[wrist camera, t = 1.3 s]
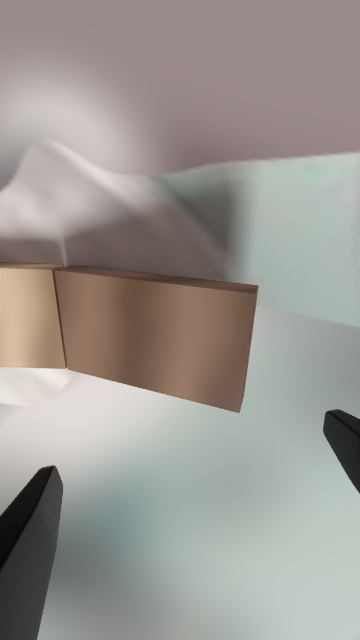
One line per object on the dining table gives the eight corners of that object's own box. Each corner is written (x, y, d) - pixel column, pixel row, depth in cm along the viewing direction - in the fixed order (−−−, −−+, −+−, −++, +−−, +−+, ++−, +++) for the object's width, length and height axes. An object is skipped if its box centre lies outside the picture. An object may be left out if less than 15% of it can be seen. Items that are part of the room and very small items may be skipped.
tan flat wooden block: (258, 285, 15) (254, 293, 13) (243, 394, 17) (239, 413, 16) (74, 265, 19) (54, 270, 17) (84, 357, 21) (67, 369, 20)
